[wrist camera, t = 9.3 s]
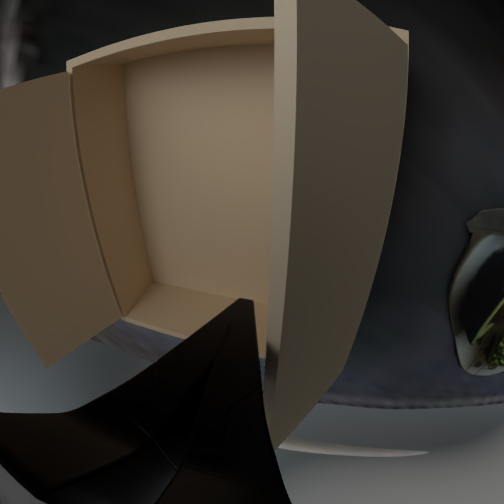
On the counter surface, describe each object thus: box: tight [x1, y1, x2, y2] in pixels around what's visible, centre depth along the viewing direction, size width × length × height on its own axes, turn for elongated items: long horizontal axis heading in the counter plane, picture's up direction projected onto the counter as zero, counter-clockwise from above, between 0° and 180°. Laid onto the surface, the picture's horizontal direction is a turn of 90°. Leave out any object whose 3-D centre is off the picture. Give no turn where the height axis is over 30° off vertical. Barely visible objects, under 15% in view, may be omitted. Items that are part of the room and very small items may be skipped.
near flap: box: [263, 0, 408, 450], centre depth 9 cm, size 7×17×1 cm
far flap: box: [0, 72, 121, 368], centre depth 13 cm, size 7×17×1 cm
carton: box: [66, 17, 409, 372], centre depth 16 cm, size 16×18×5 cm
